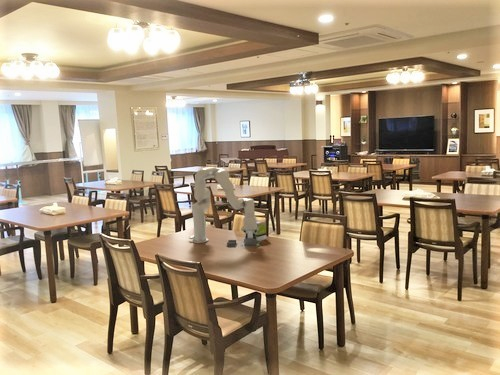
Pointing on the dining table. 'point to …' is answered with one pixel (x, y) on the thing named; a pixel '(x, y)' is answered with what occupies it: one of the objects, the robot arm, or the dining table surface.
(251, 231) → the plug
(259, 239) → the tea box
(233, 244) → the holster
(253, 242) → the port
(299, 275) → the dining table surface
